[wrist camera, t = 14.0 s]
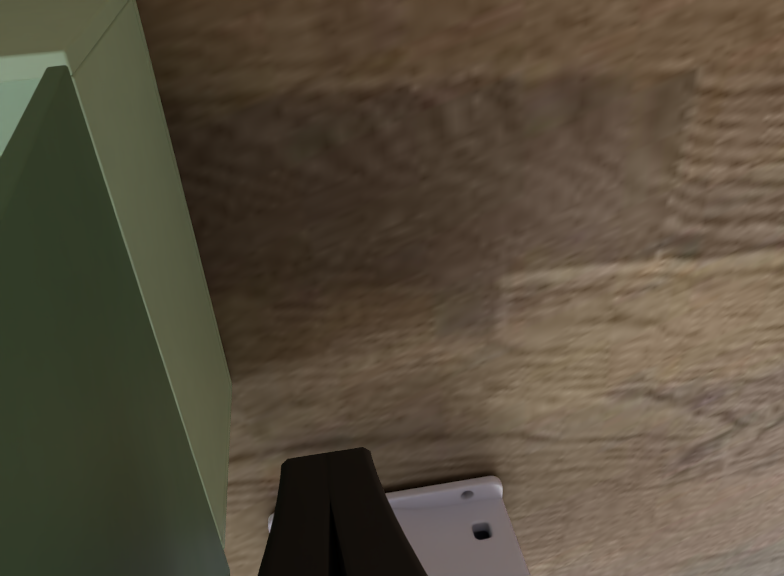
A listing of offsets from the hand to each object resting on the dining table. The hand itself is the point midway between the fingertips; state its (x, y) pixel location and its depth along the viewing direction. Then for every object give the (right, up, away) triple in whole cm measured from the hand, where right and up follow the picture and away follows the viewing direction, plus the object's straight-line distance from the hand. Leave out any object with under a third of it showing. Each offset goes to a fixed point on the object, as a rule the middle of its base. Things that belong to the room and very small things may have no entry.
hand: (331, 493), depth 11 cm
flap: (-3, -1, -1) cm, 3 cm away
